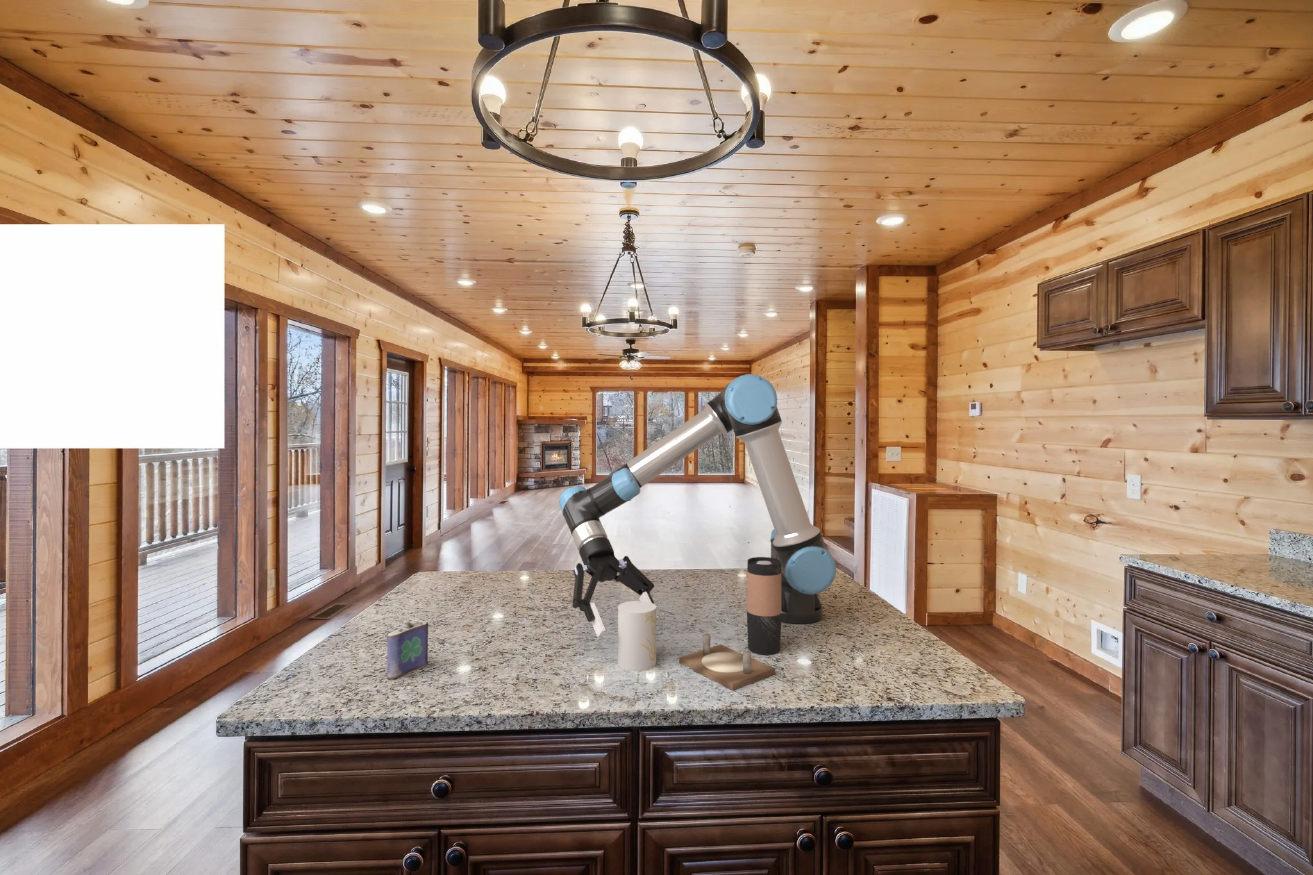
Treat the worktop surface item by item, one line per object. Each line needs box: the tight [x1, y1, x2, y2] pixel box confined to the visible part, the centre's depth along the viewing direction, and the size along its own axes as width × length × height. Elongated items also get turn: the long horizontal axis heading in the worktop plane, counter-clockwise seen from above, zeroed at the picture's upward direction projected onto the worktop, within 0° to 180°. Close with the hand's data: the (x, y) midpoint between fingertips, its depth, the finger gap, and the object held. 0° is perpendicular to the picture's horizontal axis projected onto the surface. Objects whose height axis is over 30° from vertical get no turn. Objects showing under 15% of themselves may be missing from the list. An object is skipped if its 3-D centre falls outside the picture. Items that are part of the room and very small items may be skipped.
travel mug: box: [746, 556, 782, 656], centre depth 129 cm, size 8×8×20 cm
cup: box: [617, 600, 657, 672], centre depth 122 cm, size 8×8×12 cm
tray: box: [678, 633, 776, 692], centre depth 119 cm, size 16×12×5 cm
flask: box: [386, 617, 429, 681], centre depth 118 cm, size 9×3×11 cm, turn 151°
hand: (628, 627), depth 123 cm, fingers open, 13 cm apart
